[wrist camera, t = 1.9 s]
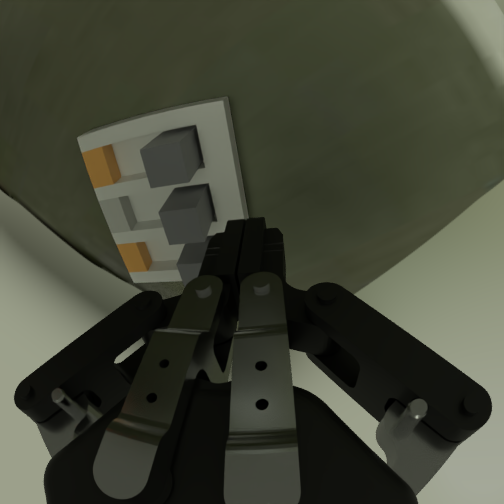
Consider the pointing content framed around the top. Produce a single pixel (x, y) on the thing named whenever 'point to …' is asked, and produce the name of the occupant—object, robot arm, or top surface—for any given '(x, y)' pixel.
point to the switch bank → (152, 199)
